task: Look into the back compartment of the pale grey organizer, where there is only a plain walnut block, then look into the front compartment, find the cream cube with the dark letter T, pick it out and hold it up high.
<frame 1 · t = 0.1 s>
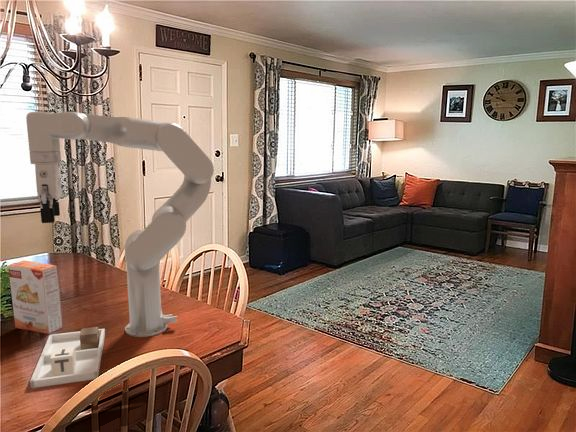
hand: (51, 219, 130), 37 cm above the table, tool pointing down, fingers open, 9 cm apart
walnut block: (90, 345, 132), point 1 cm above the table, touching organizer
cracker box: (39, 329, 144), on the table
organizer: (72, 360, 125), on the table
letter cube: (64, 370, 119), point 1 cm above the table, touching organizer
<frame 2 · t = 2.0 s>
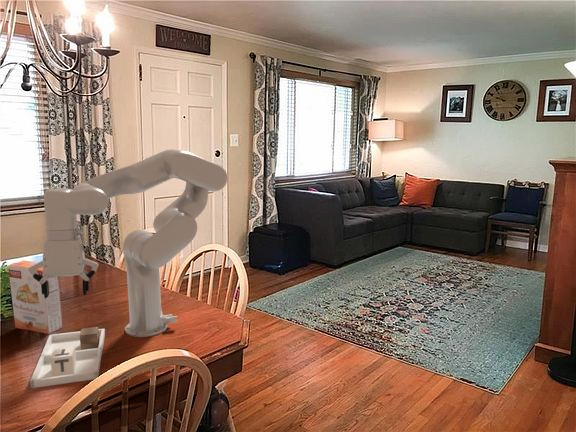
hand: (66, 294, 127), 17 cm above the table, tool pointing down, fingers open, 9 cm apart
nothing on the table moved.
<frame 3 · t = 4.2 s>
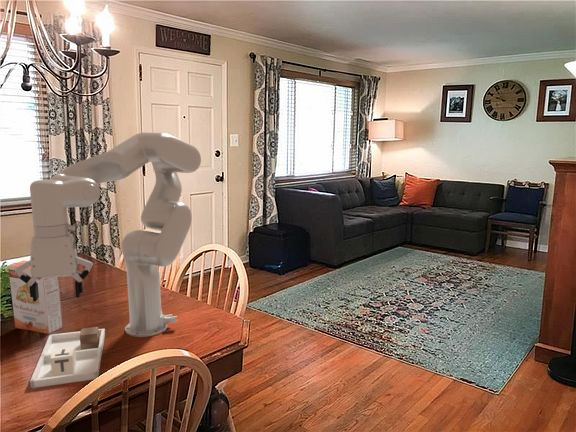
hand: (57, 297, 115), 20 cm above the table, tool pointing down, fingers open, 9 cm apart
nothing on the table moved.
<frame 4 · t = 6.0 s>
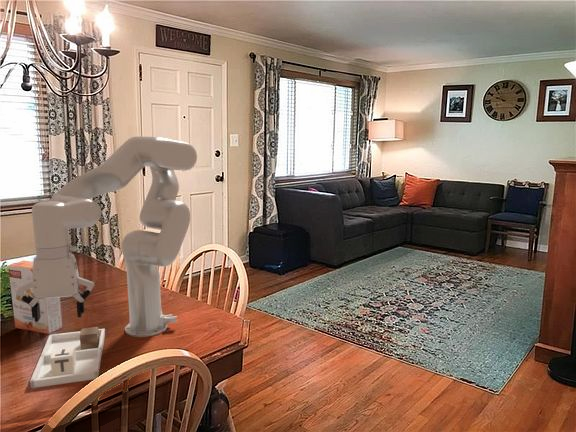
hand: (59, 317, 116), 15 cm above the table, tool pointing down, fingers open, 9 cm apart
nothing on the table moved.
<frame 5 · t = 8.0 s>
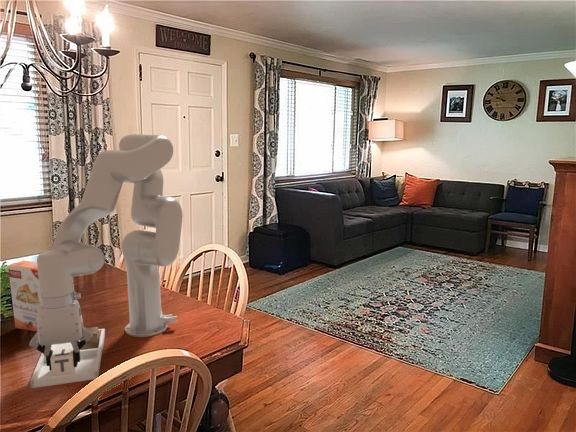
hand: (64, 365, 119), 2 cm above the table, tool pointing down, fingers closed on letter cube, 4 cm apart
letter cube: (64, 370, 119), point 1 cm above the table, touching gripper, organizer
everything else where it was.
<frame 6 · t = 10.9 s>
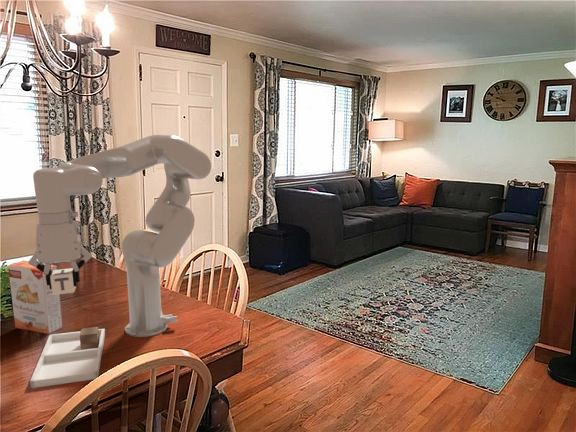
hand: (64, 285, 120), 22 cm above the table, tool pointing down, fingers closed on letter cube, 4 cm apart
letter cube: (64, 290, 120), point 20 cm above the table, touching gripper
everything else where it was.
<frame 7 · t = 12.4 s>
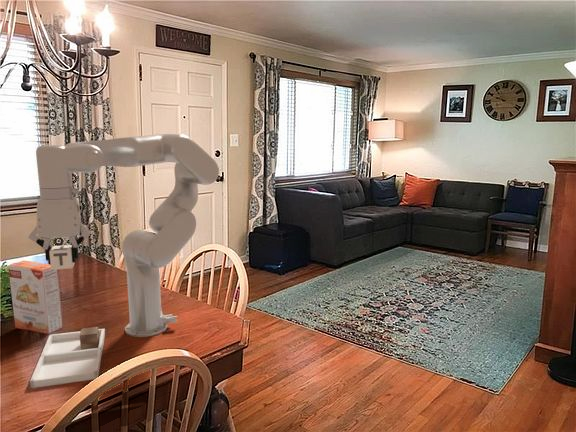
hand: (62, 261, 122), 27 cm above the table, tool pointing down, fingers closed on letter cube, 4 cm apart
letter cube: (63, 266, 122), point 26 cm above the table, touching gripper
everything else where it was.
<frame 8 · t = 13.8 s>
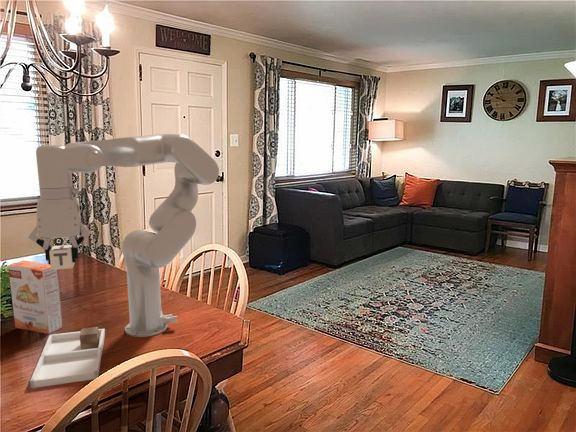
hand: (62, 261, 122), 27 cm above the table, tool pointing down, fingers closed on letter cube, 4 cm apart
letter cube: (63, 266, 122), point 26 cm above the table, touching gripper
everything else where it was.
at the end: the gripper is holding letter cube; letter cube point 26.0 cm above the table; walnut block moved 0.0 cm from its start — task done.
